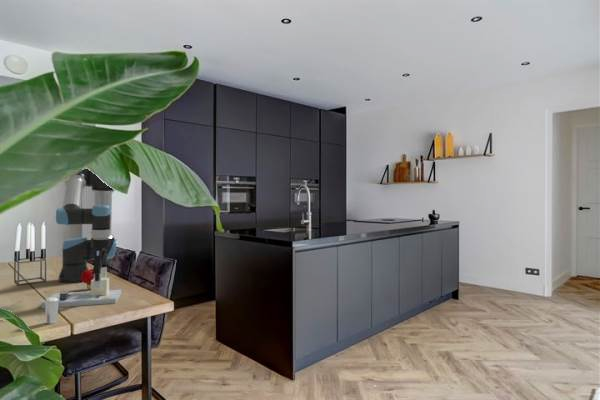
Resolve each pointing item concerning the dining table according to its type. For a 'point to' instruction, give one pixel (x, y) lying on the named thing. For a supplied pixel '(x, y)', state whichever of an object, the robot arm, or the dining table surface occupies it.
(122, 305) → the dining table surface
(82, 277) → the light bulb
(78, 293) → the panel
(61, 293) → the breaker
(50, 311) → the milkshake
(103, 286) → the cap
